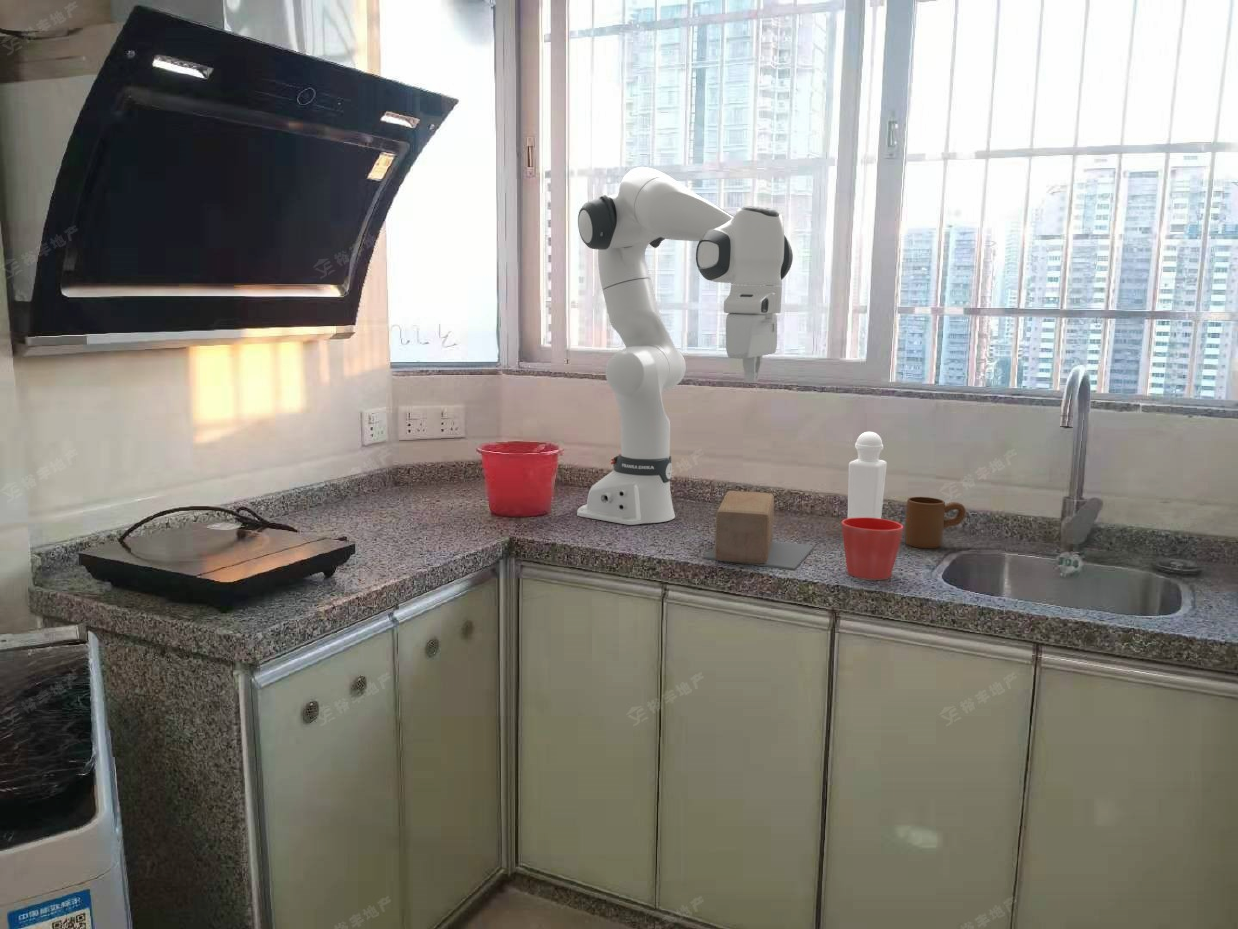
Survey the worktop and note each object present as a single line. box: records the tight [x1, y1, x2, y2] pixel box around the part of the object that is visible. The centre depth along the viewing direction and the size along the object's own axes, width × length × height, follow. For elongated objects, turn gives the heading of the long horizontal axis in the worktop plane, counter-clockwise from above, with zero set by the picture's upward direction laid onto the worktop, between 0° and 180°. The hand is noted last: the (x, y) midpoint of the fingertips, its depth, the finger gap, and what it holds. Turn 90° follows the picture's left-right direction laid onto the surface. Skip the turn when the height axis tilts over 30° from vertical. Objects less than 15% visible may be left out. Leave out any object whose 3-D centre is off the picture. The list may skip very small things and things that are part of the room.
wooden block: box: [714, 490, 775, 564], centre depth 188 cm, size 10×10×20 cm
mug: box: [903, 496, 967, 550], centre depth 196 cm, size 12×8×9 cm, turn 87°
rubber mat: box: [702, 540, 815, 571], centre depth 188 cm, size 18×18×1 cm
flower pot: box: [841, 517, 905, 581], centre depth 174 cm, size 11×11×10 cm
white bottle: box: [847, 431, 888, 519], centre depth 205 cm, size 6×6×22 cm
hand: (751, 382), depth 167 cm, fingers closed
